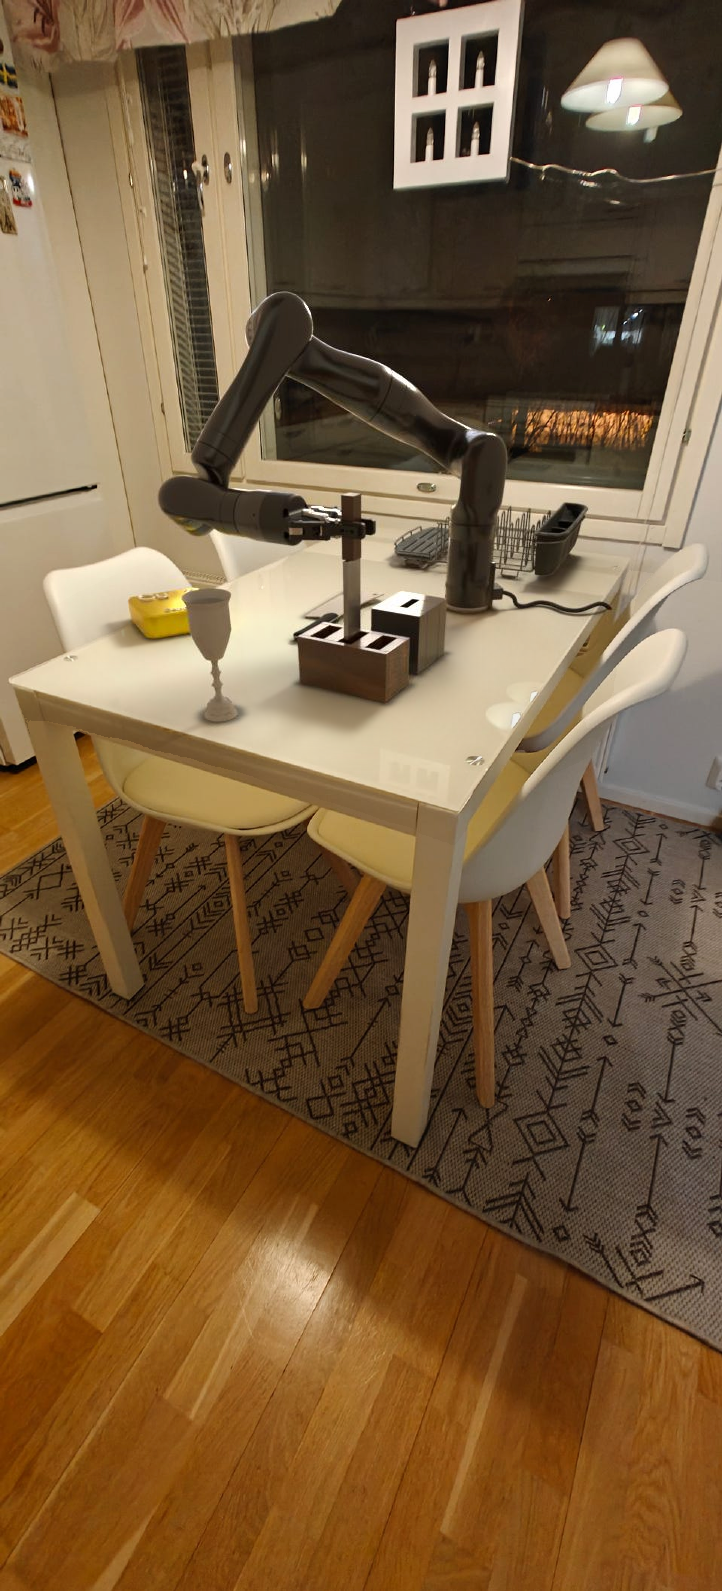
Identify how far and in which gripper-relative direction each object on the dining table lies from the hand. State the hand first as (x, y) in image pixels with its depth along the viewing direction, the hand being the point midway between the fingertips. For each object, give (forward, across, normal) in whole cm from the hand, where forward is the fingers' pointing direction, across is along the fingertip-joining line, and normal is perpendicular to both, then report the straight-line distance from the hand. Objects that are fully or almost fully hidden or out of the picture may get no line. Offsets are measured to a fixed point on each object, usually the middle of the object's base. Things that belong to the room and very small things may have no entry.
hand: (369, 529), depth 103 cm
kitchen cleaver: (-24, +28, +25) cm, 44 cm away
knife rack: (-3, 0, +25) cm, 25 cm away
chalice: (-15, -19, +25) cm, 35 cm away
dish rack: (-13, +85, +25) cm, 89 cm away
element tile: (-49, +9, +25) cm, 56 cm away
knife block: (0, +14, +25) cm, 28 cm away
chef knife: (-3, 0, +16) cm, 17 cm away
